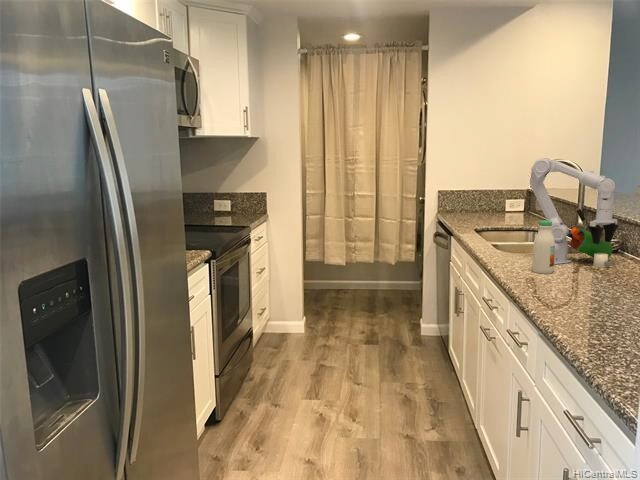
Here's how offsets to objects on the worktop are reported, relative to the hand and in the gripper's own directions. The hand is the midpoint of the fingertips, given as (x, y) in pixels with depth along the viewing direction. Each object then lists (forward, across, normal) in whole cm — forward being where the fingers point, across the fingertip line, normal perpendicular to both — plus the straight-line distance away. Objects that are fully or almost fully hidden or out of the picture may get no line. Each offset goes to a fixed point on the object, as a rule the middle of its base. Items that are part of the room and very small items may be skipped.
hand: (602, 242), depth 216 cm
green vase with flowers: (+5, +10, +6) cm, 12 cm away
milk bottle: (+10, -29, +5) cm, 31 cm away
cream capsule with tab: (+10, -1, 0) cm, 10 cm away
